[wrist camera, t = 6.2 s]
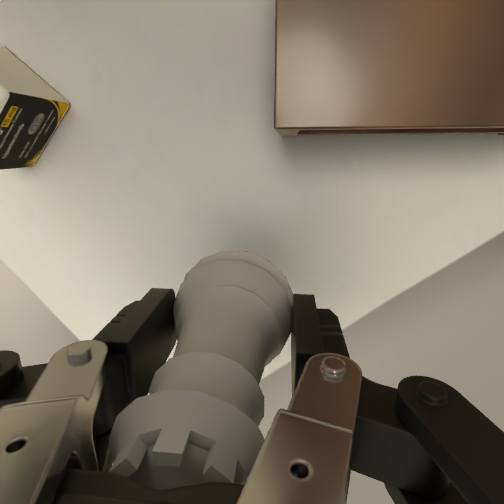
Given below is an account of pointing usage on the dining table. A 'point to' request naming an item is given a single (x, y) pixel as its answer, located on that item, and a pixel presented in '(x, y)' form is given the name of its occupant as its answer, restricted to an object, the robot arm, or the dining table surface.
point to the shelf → (389, 67)
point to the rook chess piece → (208, 378)
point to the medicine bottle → (25, 113)
